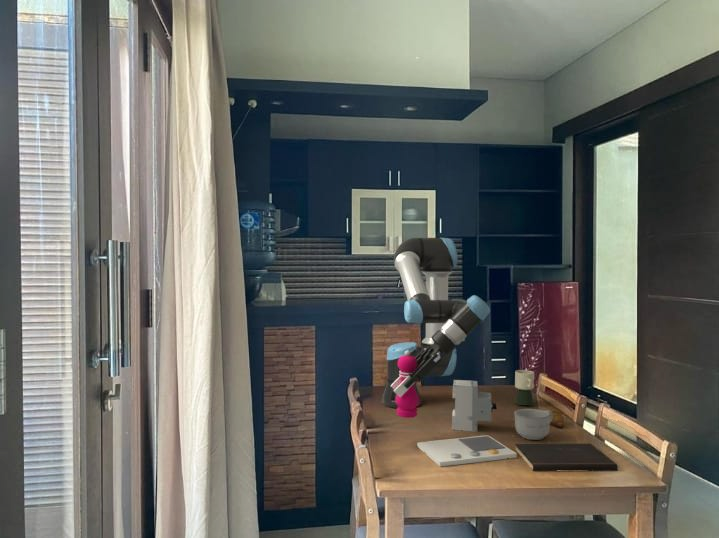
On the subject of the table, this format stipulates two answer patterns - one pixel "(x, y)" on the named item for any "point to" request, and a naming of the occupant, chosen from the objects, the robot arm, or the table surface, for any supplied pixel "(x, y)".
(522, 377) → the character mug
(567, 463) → the hardcover book
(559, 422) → the croissant
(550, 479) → the table surface
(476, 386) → the circuit breaker
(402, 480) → the table surface
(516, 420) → the teacup
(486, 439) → the board
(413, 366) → the pepper mill
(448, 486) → the table surface
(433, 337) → the robot arm
